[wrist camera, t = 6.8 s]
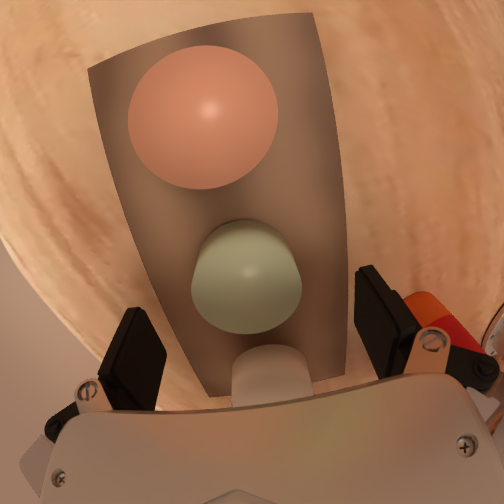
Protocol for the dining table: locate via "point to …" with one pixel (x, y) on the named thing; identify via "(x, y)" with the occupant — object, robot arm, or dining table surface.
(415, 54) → the dining table surface
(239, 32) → the switch board
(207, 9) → the dining table surface
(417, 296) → the paper cup
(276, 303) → the sage button
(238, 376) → the cream button
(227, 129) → the terracotta button
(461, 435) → the robot arm
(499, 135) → the dining table surface
